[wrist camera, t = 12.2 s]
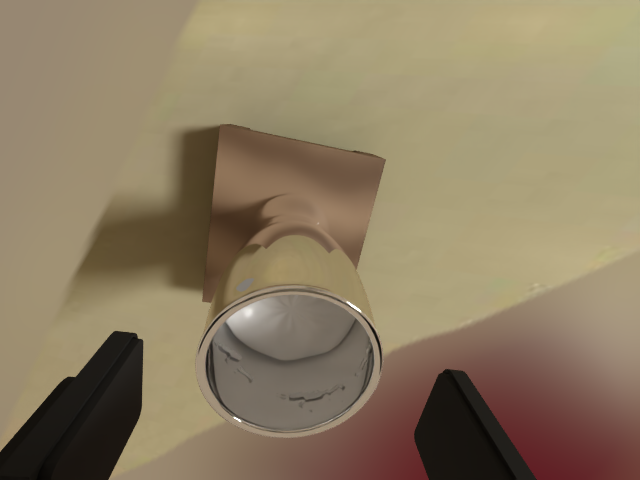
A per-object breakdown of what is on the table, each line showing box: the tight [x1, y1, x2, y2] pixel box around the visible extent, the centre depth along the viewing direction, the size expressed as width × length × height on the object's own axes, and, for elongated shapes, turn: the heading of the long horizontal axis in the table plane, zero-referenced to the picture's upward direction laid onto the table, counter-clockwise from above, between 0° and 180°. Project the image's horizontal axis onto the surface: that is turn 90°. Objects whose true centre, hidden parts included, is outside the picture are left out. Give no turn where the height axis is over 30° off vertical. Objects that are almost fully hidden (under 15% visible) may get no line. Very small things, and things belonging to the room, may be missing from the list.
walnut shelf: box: [202, 124, 386, 303], centre depth 27 cm, size 14×12×4 cm
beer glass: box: [195, 194, 383, 438], centre depth 18 cm, size 7×7×15 cm
